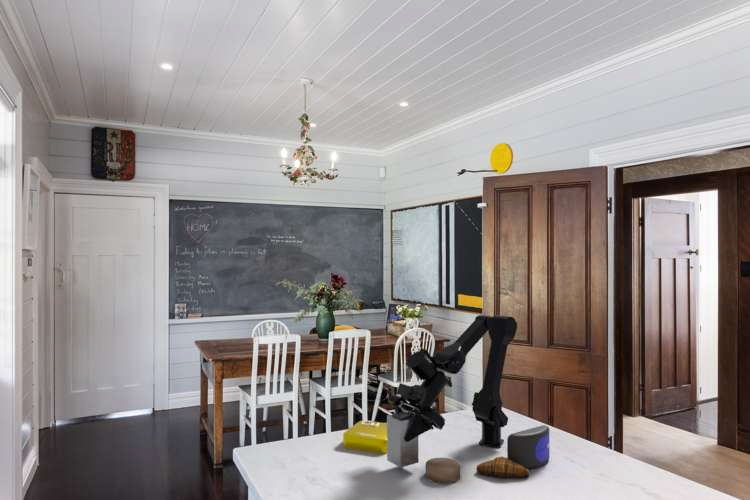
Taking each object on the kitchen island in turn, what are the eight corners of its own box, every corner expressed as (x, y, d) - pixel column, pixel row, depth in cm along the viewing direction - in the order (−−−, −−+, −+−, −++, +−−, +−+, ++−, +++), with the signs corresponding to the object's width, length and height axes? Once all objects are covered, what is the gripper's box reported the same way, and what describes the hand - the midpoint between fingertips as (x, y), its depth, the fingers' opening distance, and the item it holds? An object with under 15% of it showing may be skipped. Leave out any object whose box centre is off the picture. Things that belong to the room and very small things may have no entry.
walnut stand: (432, 466, 138) (432, 455, 138) (464, 472, 134) (464, 461, 134) (420, 479, 130) (420, 467, 130) (454, 486, 126) (454, 474, 126)
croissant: (528, 472, 135) (527, 453, 135) (530, 483, 128) (530, 463, 128) (476, 468, 137) (476, 449, 137) (476, 478, 131) (476, 459, 131)
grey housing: (404, 455, 140) (404, 409, 140) (418, 462, 135) (418, 415, 135) (387, 460, 137) (386, 413, 137) (400, 467, 132) (400, 419, 132)
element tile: (340, 448, 152) (340, 432, 152) (360, 432, 166) (360, 418, 166) (387, 455, 146) (387, 439, 147) (404, 438, 160) (404, 423, 160)
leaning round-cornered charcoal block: (519, 475, 133) (519, 438, 133) (505, 468, 136) (505, 433, 137) (558, 461, 141) (558, 427, 142) (545, 456, 145) (545, 423, 145)
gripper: (393, 366, 146) (361, 411, 140) (436, 378, 131) (402, 430, 124) (415, 389, 150) (384, 434, 144) (458, 404, 135) (427, 455, 129)
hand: (398, 437), depth 135 cm, fingers closed on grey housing, 6 cm apart
